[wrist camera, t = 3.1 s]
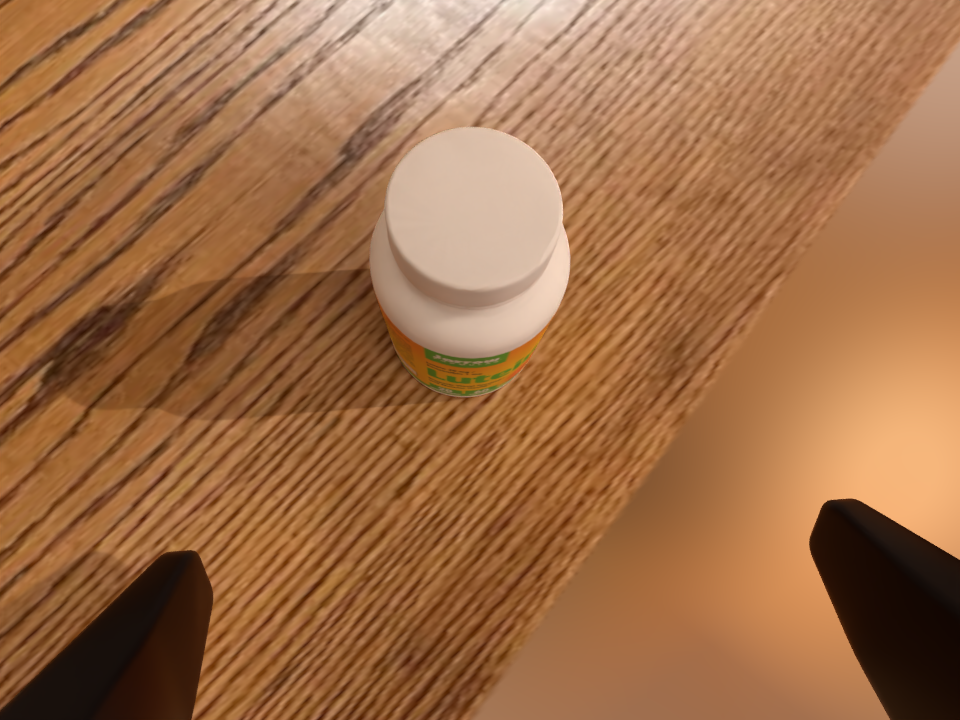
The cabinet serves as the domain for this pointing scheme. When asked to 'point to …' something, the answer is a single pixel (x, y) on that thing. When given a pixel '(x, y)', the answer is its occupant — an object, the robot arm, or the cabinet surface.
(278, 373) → the cabinet surface
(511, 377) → the supplement bottle
